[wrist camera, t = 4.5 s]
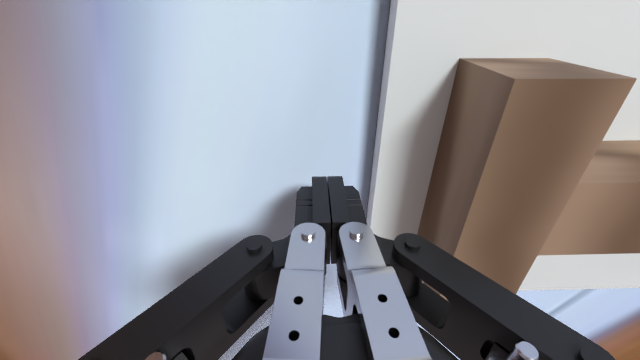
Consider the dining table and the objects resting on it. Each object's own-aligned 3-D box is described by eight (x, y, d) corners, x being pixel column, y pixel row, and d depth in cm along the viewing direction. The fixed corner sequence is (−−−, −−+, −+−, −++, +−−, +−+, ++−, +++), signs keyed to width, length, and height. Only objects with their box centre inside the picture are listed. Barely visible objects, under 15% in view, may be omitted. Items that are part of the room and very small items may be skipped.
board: (359, 281, 22) (362, 294, 21) (397, -55, 11) (405, -61, 10) (713, 272, 23) (732, 285, 22) (1055, -51, 12) (1124, -56, 11)
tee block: (412, 254, 19) (434, 310, 15) (459, 58, 13) (515, 78, 9) (590, 250, 19) (651, 304, 16) (723, 57, 13) (872, 77, 9)
